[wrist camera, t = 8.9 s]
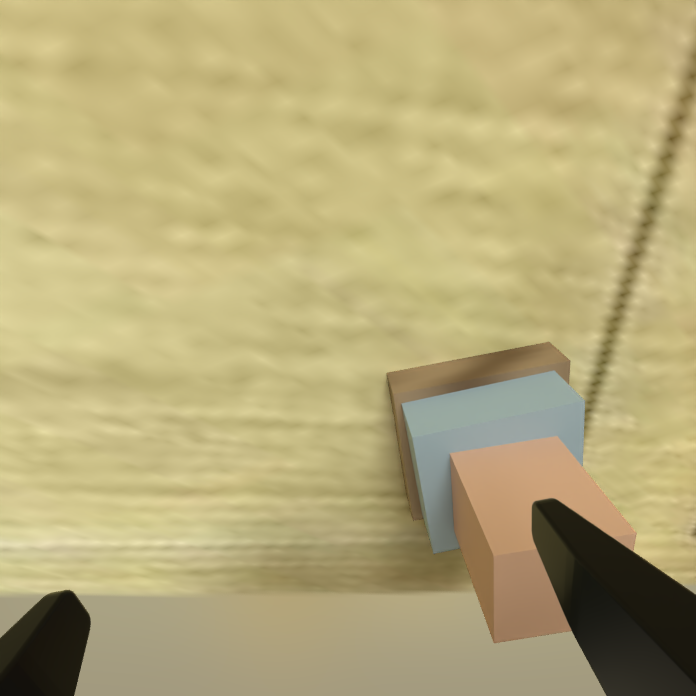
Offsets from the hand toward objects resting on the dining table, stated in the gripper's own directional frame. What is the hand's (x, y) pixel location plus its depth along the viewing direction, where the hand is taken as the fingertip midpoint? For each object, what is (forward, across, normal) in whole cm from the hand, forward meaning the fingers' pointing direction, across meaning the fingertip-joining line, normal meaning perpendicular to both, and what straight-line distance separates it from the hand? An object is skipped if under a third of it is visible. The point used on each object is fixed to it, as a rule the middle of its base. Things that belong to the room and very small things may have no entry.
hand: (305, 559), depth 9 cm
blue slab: (+11, -7, +8) cm, 15 cm away
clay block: (+8, -7, +8) cm, 13 cm away
